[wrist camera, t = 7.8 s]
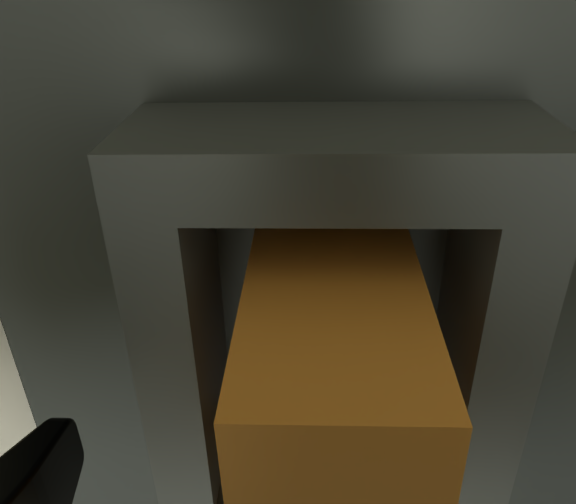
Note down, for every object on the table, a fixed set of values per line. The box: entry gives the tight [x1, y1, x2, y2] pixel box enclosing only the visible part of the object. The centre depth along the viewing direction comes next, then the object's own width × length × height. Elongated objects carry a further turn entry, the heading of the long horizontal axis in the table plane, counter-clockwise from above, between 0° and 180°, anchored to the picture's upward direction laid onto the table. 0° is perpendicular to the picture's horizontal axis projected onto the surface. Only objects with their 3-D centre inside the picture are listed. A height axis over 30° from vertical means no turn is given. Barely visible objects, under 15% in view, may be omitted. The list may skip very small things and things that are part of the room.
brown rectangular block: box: [214, 228, 473, 504], centre depth 10 cm, size 3×5×6 cm, turn 2°
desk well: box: [0, 0, 576, 504], centre depth 12 cm, size 16×16×4 cm
